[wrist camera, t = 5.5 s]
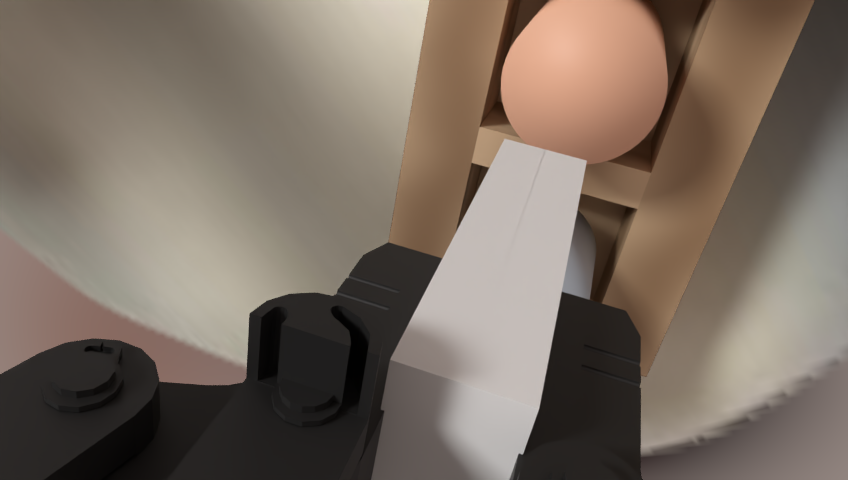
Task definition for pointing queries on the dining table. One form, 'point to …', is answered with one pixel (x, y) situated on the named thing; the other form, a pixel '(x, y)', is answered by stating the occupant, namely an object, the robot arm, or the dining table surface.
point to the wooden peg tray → (614, 179)
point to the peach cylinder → (587, 77)
